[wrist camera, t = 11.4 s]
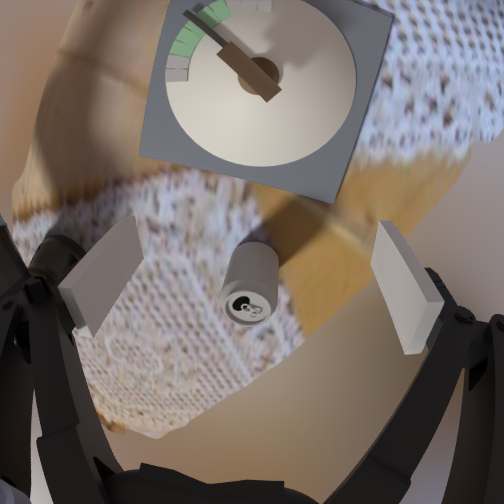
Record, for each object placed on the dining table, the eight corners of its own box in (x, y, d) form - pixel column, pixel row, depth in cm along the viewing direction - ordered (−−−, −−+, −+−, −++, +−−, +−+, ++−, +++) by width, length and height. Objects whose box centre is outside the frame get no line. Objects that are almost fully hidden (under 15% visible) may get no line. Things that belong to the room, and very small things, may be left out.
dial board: (142, 154, 40) (137, 156, 39) (182, -27, 26) (178, -31, 24) (331, 201, 41) (333, 205, 40) (389, 19, 27) (393, 17, 25)
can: (250, 229, 45) (239, 276, 35) (289, 257, 47) (289, 309, 37) (222, 261, 49) (206, 312, 38) (259, 286, 50) (252, 339, 40)
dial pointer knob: (261, 106, 34) (253, 114, 25) (173, 26, 29) (134, 10, 19) (292, 81, 32) (295, 78, 22) (201, 0, 27) (170, -27, 17)
